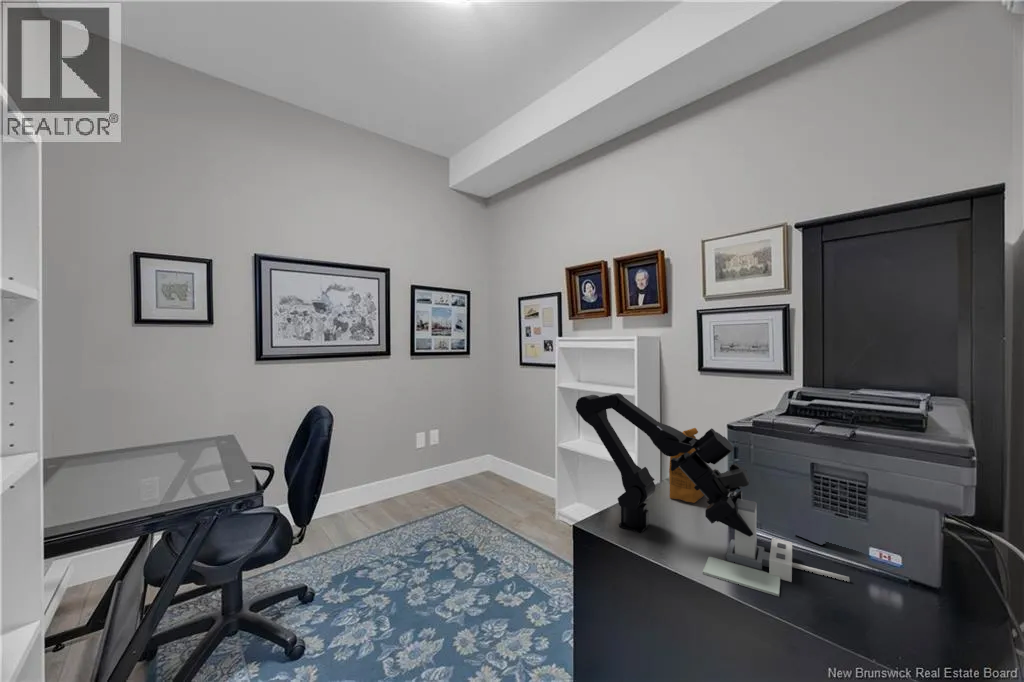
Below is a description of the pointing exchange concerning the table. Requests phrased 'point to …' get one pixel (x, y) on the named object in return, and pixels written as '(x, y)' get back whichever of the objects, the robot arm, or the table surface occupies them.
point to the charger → (743, 542)
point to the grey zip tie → (776, 560)
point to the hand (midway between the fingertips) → (752, 530)
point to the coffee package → (683, 478)
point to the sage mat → (743, 576)
